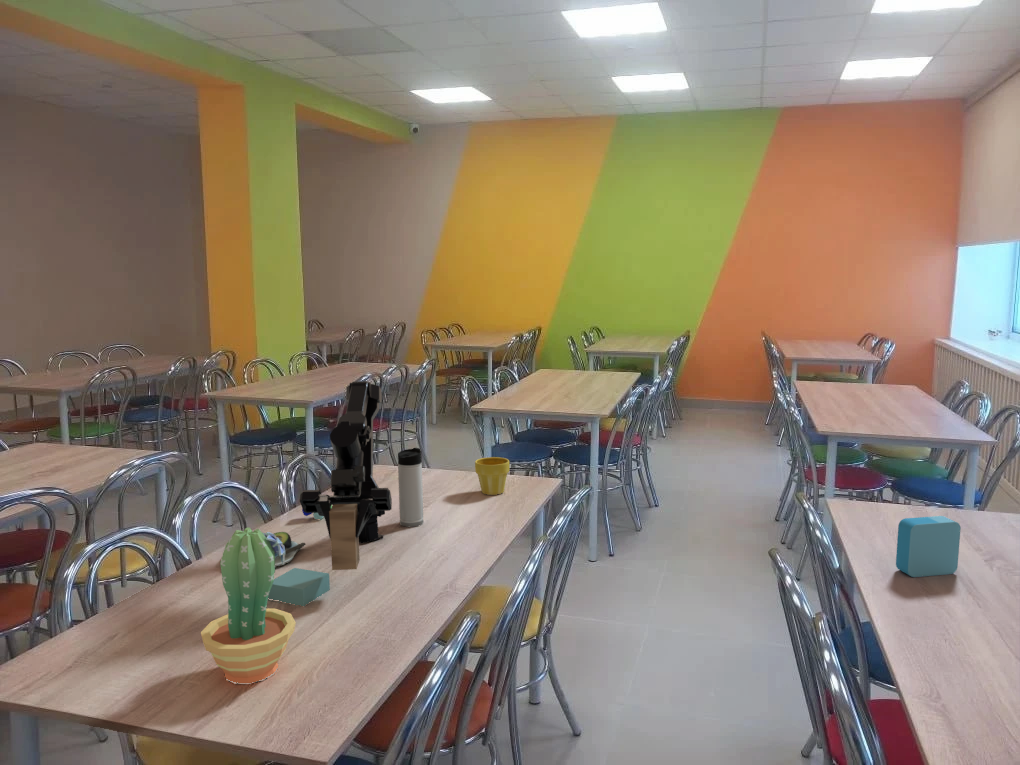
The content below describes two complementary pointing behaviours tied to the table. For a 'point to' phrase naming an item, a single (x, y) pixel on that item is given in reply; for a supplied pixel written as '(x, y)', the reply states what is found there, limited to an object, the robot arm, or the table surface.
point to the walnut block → (344, 536)
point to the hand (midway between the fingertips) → (343, 537)
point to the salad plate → (287, 547)
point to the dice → (314, 514)
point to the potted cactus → (249, 610)
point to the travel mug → (410, 487)
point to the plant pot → (492, 474)
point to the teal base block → (299, 586)
